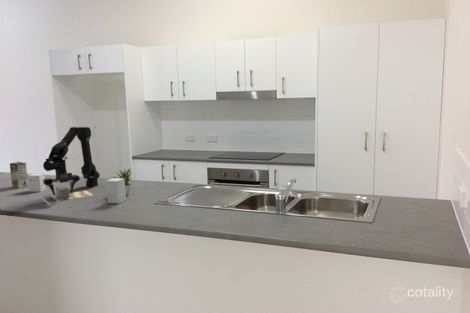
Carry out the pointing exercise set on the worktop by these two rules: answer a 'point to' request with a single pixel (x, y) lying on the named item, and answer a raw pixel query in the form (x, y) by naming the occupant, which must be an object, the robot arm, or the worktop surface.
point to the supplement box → (116, 190)
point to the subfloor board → (74, 195)
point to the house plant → (126, 180)
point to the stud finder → (62, 192)
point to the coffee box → (18, 175)
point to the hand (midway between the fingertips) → (62, 194)
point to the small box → (36, 182)
